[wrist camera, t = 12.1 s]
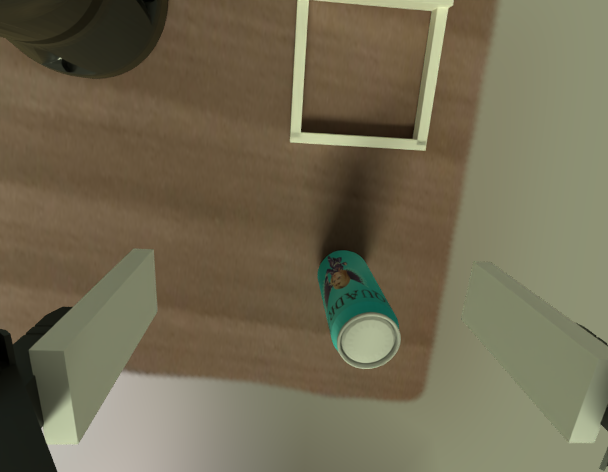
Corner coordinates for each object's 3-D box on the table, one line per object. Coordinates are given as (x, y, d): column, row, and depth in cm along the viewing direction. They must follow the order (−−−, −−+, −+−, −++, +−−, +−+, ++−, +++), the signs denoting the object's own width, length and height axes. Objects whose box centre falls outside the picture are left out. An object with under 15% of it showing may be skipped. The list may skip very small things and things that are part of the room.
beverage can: (344, 235, 43) (376, 296, 29) (374, 269, 45) (418, 343, 31) (306, 266, 44) (319, 341, 30) (336, 299, 46) (363, 384, 32)
